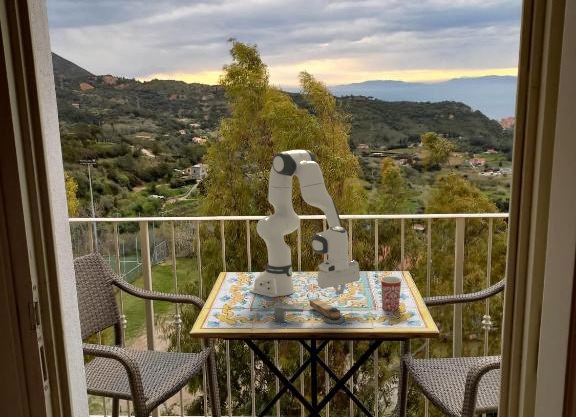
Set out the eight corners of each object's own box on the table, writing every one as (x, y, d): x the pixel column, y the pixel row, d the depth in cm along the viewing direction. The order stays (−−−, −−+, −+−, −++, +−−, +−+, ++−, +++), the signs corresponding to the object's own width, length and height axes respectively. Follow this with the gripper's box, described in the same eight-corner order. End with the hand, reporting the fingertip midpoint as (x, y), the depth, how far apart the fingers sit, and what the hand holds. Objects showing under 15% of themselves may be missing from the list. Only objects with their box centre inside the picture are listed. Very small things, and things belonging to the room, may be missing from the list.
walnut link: (342, 318, 223) (342, 309, 222) (332, 320, 220) (332, 312, 220) (318, 304, 239) (318, 296, 239) (308, 306, 237) (308, 298, 236)
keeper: (304, 316, 229) (304, 302, 228) (303, 322, 222) (302, 308, 221) (276, 315, 230) (276, 301, 229) (274, 322, 223) (274, 307, 222)
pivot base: (320, 322, 222) (320, 320, 222) (328, 315, 230) (328, 312, 230) (340, 325, 218) (340, 323, 218) (348, 318, 226) (348, 315, 226)
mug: (403, 311, 231) (404, 282, 229) (383, 312, 231) (383, 283, 228) (395, 301, 244) (396, 273, 242) (376, 302, 243) (376, 274, 241)
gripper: (354, 258, 239) (354, 288, 241) (315, 266, 229) (316, 296, 232) (362, 261, 233) (363, 291, 236) (323, 269, 224) (324, 300, 226)
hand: (339, 294), depth 234 cm, fingers closed
